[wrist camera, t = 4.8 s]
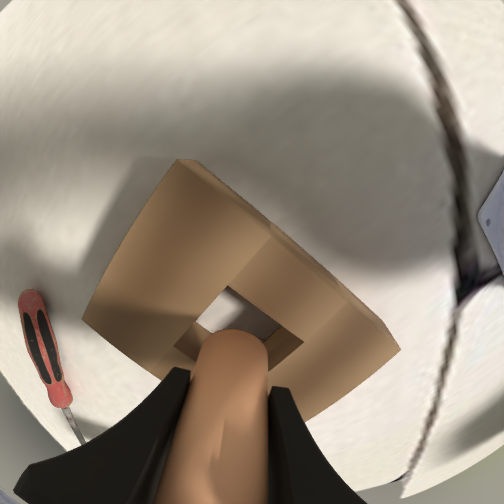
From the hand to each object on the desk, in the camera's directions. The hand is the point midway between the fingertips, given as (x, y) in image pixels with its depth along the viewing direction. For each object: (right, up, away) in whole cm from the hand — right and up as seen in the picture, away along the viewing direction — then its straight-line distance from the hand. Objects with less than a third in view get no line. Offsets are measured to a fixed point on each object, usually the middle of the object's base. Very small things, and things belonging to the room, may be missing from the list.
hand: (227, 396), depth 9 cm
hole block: (0, +2, +6) cm, 6 cm away
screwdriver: (-17, -8, +10) cm, 22 cm away
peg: (0, +1, +2) cm, 2 cm away
